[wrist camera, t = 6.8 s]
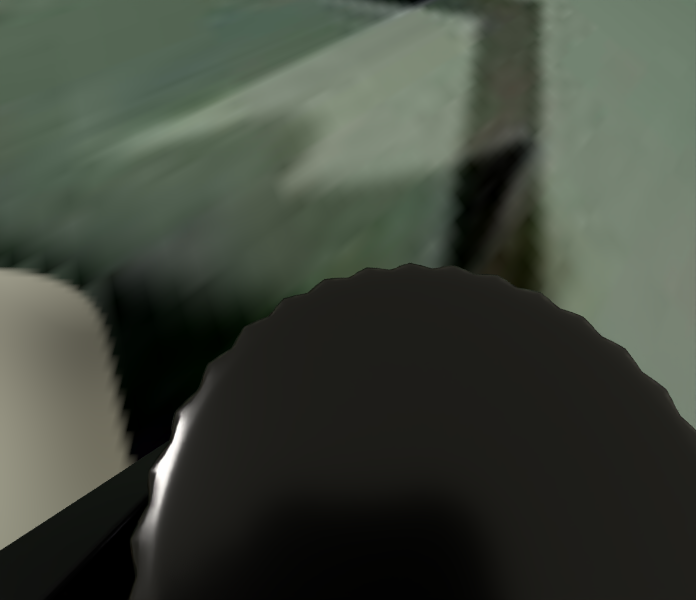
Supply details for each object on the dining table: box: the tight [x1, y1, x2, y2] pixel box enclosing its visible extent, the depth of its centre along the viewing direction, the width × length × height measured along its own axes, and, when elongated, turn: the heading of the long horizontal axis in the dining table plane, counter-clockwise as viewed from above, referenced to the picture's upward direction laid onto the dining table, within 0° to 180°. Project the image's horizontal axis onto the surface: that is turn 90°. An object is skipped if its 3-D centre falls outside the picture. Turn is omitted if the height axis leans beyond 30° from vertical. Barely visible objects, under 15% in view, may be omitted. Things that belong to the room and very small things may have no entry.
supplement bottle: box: [128, 263, 696, 600], centre depth 8 cm, size 7×7×12 cm
